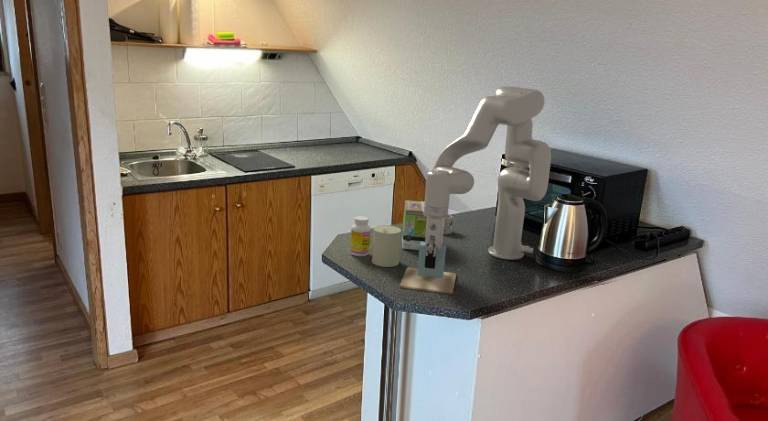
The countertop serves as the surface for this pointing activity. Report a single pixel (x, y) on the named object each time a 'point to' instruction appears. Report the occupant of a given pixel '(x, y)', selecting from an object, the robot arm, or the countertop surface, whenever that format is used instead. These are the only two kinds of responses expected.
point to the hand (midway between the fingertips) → (431, 262)
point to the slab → (439, 263)
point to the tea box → (413, 225)
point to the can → (386, 246)
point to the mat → (428, 282)
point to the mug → (448, 224)
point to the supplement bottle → (360, 237)
